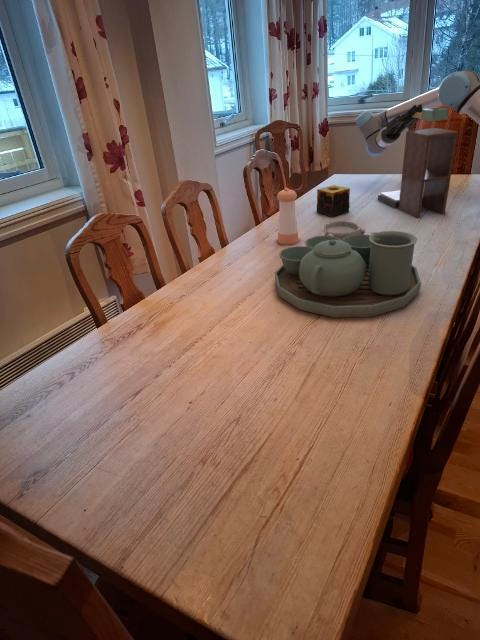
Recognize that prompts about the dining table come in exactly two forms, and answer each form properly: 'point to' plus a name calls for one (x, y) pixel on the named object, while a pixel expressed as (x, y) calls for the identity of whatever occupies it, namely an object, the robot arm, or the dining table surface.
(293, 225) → the pepper shaker
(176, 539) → the dining table surface
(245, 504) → the dining table surface
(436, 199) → the shelf
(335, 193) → the candle
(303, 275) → the tea set
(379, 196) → the whiteboard
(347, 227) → the dish
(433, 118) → the scoop
